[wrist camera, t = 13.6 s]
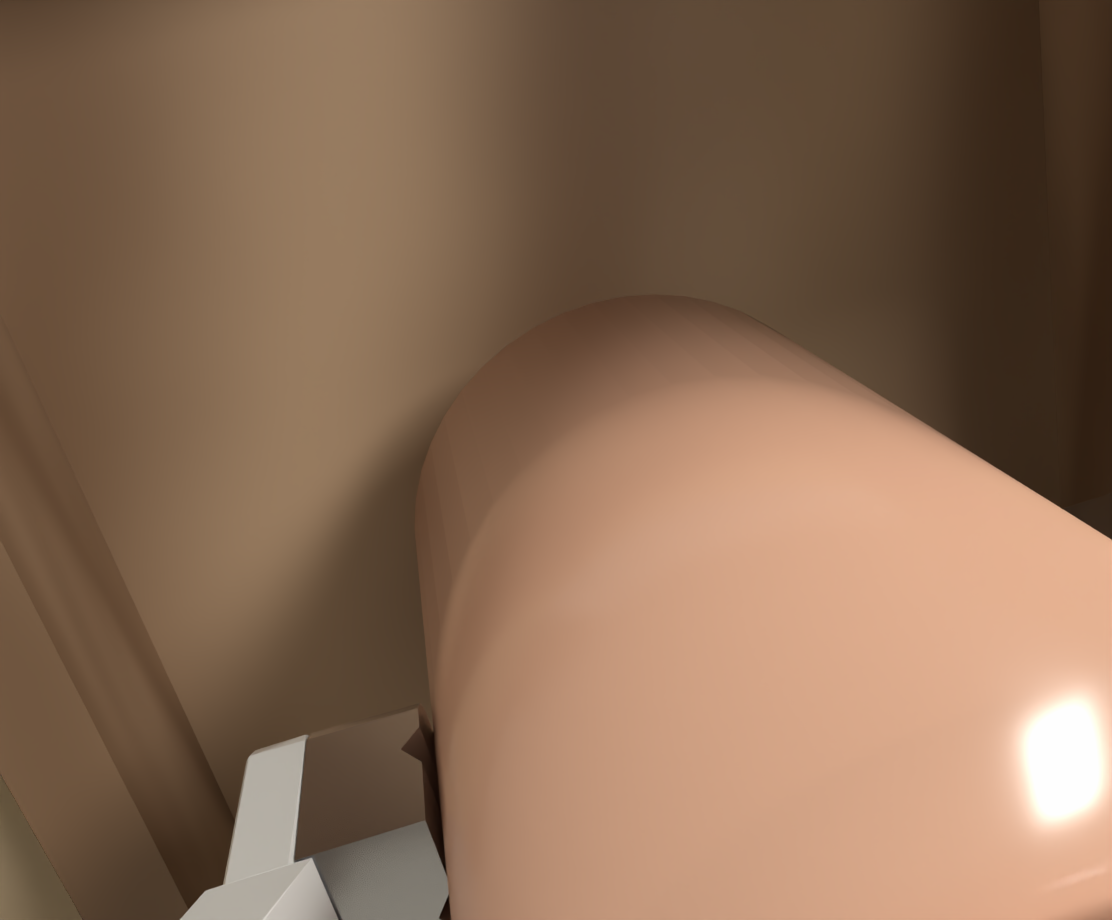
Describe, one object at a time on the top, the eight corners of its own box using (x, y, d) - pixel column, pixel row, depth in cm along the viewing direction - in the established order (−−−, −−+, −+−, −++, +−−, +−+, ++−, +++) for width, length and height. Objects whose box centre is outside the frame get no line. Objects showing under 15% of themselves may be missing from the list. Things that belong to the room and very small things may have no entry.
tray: (1059, -518, 12) (1315, -739, 9) (1100, 790, 20) (1243, 931, 16) (-325, -205, 11) (-625, -328, 8) (292, 1051, 18) (275, 1259, 15)
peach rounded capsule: (823, 238, 12) (1592, 511, 4) (875, 637, 14) (1451, 1277, 6) (353, 369, 11) (319, 917, 4) (482, 759, 13) (617, 1589, 6)
